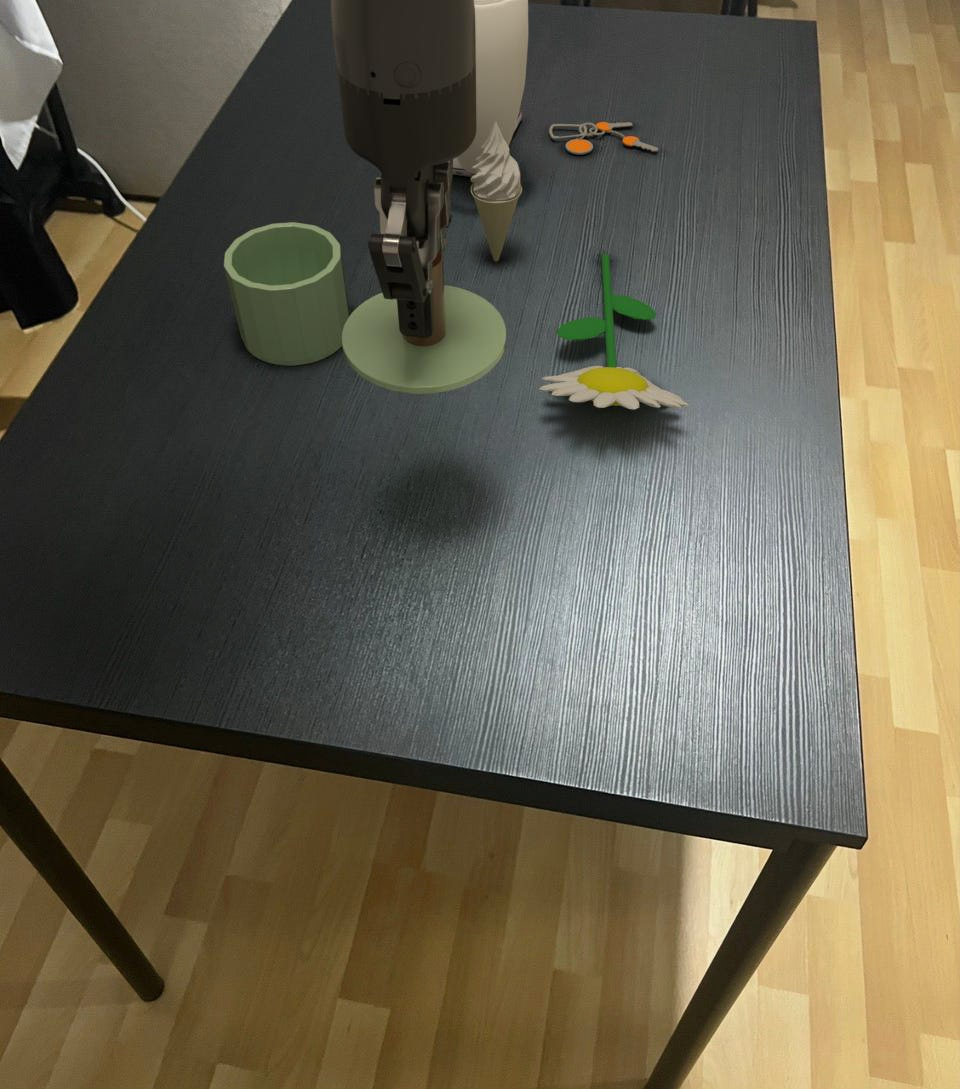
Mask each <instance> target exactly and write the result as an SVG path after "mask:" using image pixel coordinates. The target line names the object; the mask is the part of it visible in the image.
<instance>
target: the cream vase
mask: <svg viewBox="0 0 960 1089" xmlns="http://www.w3.org/2000/svg"><path fill="white" fill-rule="evenodd" d="M474 5H475V31H476V125H477V129H476V135H475V138H474V141H473V142H472V144H471V145H470V147H469V148H468V149H467V150H466V151H465V152H464V153H462V154H461V155H459V156H458V157H457V159H458V161H459V163H460V165H461V167H462V168H463V169H465V170H466V171H469V172H472V173H477V172H475V171H474V170H472V169H471V167H473V166H475V165H477V164H479V161H477V160H476V159H477V158H478V157H480V156H481V155H482V153H483V152H484V150H483V149H482V146H483V145H484V144H485V142H486V141H487V140H488V137H489V135H490V132H491V130H492V127H493V125H494V122H495V120H496V121H497V124H498V127H499V129H500V131H501V133H502V136H503V138H504V140H505V142H506V143H507V145H508V147H509V148H510V144H511V141H512V139H513V136H514V134H513V133H515V132H514V130H515V127H516V123H517V119H518V114H519V112H520V109H521V104H522V100H523V97H524V96H523V95H524V91H525V86H526V76H527V65H528V64H527V62H528V50H529V49H528V48H529V47H528V46H529V0H474ZM515 131H516V130H515Z"/></svg>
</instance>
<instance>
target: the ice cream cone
mask: <svg viewBox="0 0 960 1089" xmlns="http://www.w3.org/2000/svg"><path fill="white" fill-rule="evenodd" d="M482 149H483V150H484V152H483V153H482V155H481V156H480V157H478V158H477V159H476V160H477V161H479V164H477V165H475V166H473V167H471V169H472V170H474V171H475V172H477V173H476V175H475V176H473V177H470V179H469V180H470V182H471V183H472V184H471V186H470V193H471V195H472V196H473V199H474V202H475V205H476V209H477V212H478V215H479V218H480V221H481V224H482V228H483V231H484V234H485V237H486V240H487V243H488V246H489V249H490V254H491V256H492V259H493V262H498V261H499V260H500V257H501V254H502V251H503V247H504V244H505V242H506V238H507V236H508V232H509V229H510V226H511V223H512V219H513V218H514V214H515V210H516V207H517V205H518V204H517V203H518V201H519V198H520V196H521V195H522V192H523V186H522V184H521V170H520V167H519V163H518V161H516V159H515V158H514V157H512V156H511V154H510V146H509V147H508V145H507V143H506V142H505V140H504V138H503V136H502V133H501V131H500V129H499V127H498V124H497V121H496V120H495V122H494V125H493V127H492V130H491V132H490V135H489V137H488V140H487V141H486V142H485V144H484V145H483V146H482Z"/></svg>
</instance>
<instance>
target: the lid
mask: <svg viewBox="0 0 960 1089" xmlns="http://www.w3.org/2000/svg"><path fill="white" fill-rule="evenodd" d="M442 253H443V252H441V251H440V250H439V251H438V254H437V256H436V258H435V259H434V260H433V261H432V275H433V280H434V286H433V288H432V291H433V310H434V330H433V333H432V336H431V337H429V338H419V337H409V336H404V335H402V334H401V332H400V330H399V320H398V308H397V299H393V300H391V299H384V296H383V293H382V292H380V293H377V294H375V295H373V296H371V297H370V298H368V299H366V300H365V301H363V302H362V303H361V304H359V305H357V307H356V308H355V309H354V310H353V311H352V312H351V314H350V316H349V318H348V319H347V321H346V323H345V325H344V328H343V332H342V352H343V355H344V358H345V360H346V362H347V364H348V365H349V366H350V367H351V369H352V370H353V371H354V372H355V373H357V374H358V375H359V376H360V377H361V378H362V379H364V380H366V381H367V382H369V383H371V384H372V385H375V386H377V387H379V388H383V389H385V390H389V391H393V392H397V393H404V394H414V395H427V394H428V395H430V394H439V393H445V392H449V391H450V392H451V391H453V390H457V389H460V388H464V387H465V386H468V385H470V384H473V383H474V382H477V381H479V380H481V379H482V378H483V377H485V376H486V375H487V374H489V372H491V371H492V370H493V369H494V368H495V367H496V365H497V364H498V363H500V362H499V361H500V360H501V359H502V356H503V355H504V353H505V349H506V346H507V326H506V323H505V320H504V318H503V317H502V314H501V313H500V312H499V311H498V309H497V308H496V307H495V306H494V305H493V304H492V303H491V302H490V301H488V300H487V299H486V298H484V297H482V296H480V295H478V294H477V293H474V292H473V291H470V290H467V289H464V288H461V287H457V286H453V285H447V284H445V273H444V270H445V269H444V253H443V254H442Z"/></svg>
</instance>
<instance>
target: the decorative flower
mask: <svg viewBox="0 0 960 1089" xmlns="http://www.w3.org/2000/svg"><path fill="white" fill-rule="evenodd" d="M600 256H601V257H600V258H601V274H602V275H601V277H602V294H603V296H602V297H603V316H604V319H603V318H600V317H581V318H577V319H573V320H570V321H568V322H565V323H563V324H561V325H560V326H559V328H557V330H556V334H557V337H558V338H561V339H564V340H566V341H584V340H588V339H593V338H594V339H595V338H596V337H599V336H600V335H603V334H604V335H605V351H606V353H605V354H606V366H603V365H593V366H592V365H591V366H586V367H584V368H580V369H576V370H573V371H569V372H566V373H561V374H558V375H547V376H543V377H541V380H543V381H544V382H550V383H549V384H546V385H542V386H540V387H539V388H538V390H539V391H542V392H551V396H553V397H568V396H569V398H568V401H570V402H572V403H585V402H589V401H592V402H593V406H594V407H596V408H598V409H602V408H607V407H611V406H614V407H615V406H617V407H618V406H620V407H623V408H625V409H627V410H628V409H629V410H633V411H635V410H637V409H640V403H642V404H645V405H647V406H649V407H652V408H656V409H660V408H661V406H664V407H668V408H674V409H680V408H683V407H684V408H685V407H690V405H689V404H688V403H687V402H685V401H684V399H683V398H682V397H681V396H679V395H677V394H675V393H673V392H671V391H668V390H665V389H662V388H660V387H659V386H658V385H655V383H652V382H651V381H650V380H649V379H647V377H645V376H643V375H641V373H640V372H639V371H638V370H637V369H634V368H633V367H622V366H617V356H616V355H617V354H616V340H615V326H614V325H615V324H614V312H617V313H619V314H620V315H623V316H626V317H629V318H631V319H633V320H641V321H649V320H654V319H655V320H656V317H657V316H656V315H657V312H656V311H655V310H654V309H653V308H652V307H651V306H650V305H648V304H647V303H645V302H643V301H641V300H638V299H635V298H633V297H631V296H627V295H622V294H621V295H620V294H612V280H611V279H612V278H611V264H610V255H609V254H608V253H603V254H602V255H600Z"/></svg>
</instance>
